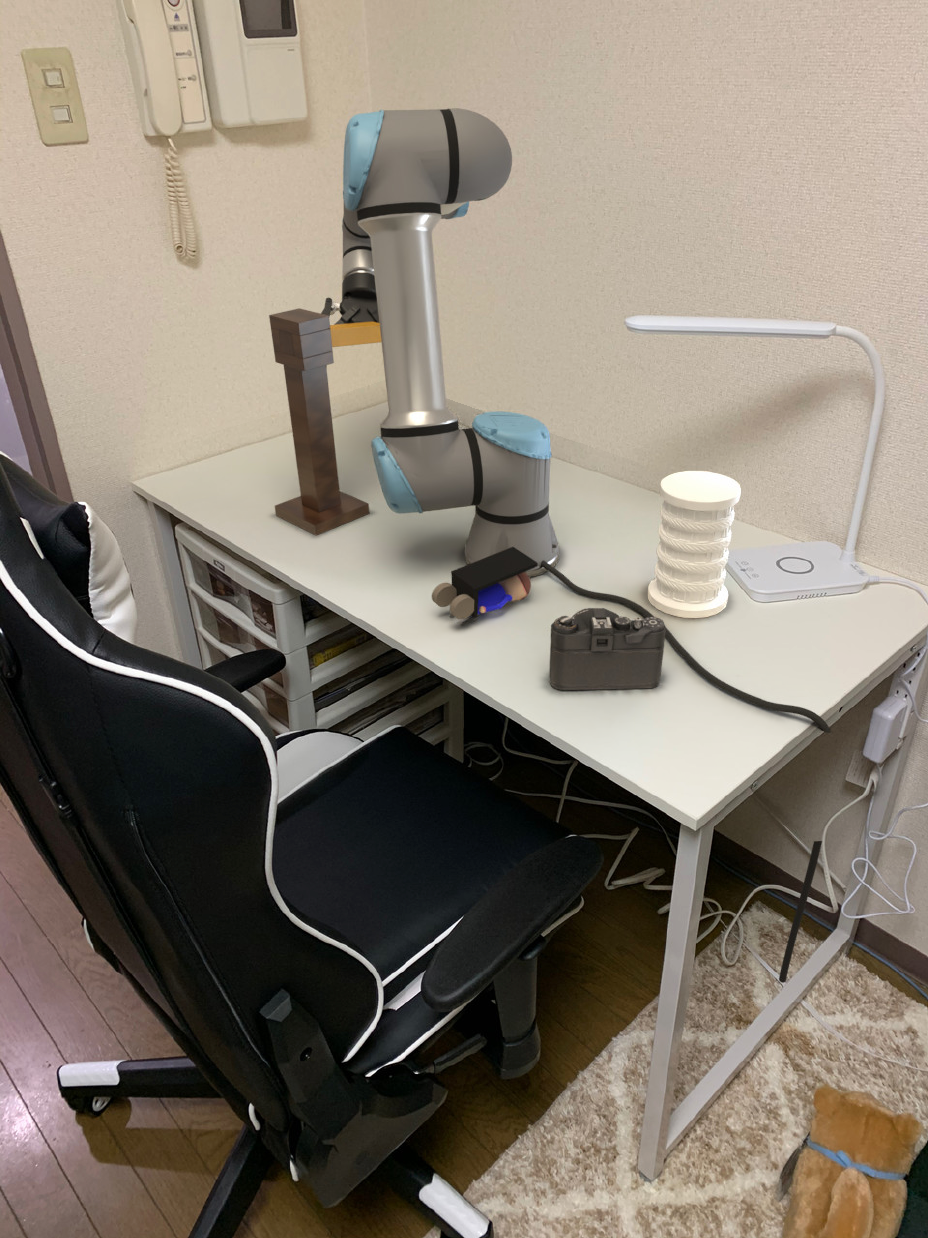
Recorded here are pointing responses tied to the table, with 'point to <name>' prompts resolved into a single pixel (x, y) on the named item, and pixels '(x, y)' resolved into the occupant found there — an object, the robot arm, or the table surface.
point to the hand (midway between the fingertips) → (362, 386)
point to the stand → (311, 422)
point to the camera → (605, 651)
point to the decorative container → (693, 543)
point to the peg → (355, 334)
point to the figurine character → (486, 584)
